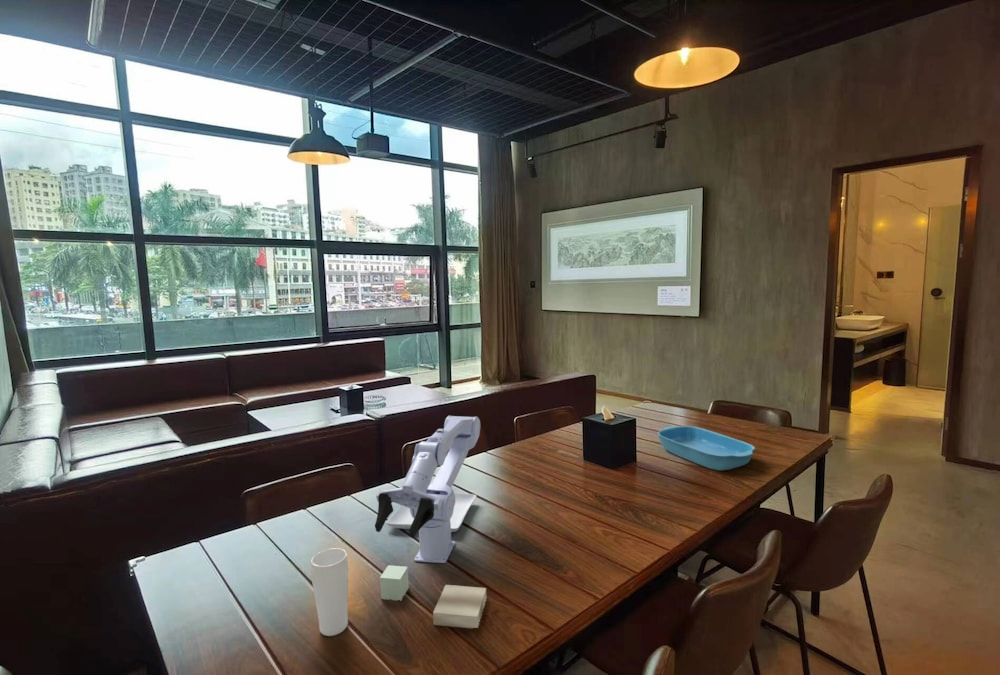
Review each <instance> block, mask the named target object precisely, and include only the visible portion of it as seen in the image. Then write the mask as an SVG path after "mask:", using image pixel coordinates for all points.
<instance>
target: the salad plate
mask: <svg viewBox="0 0 1000 675" xmlns="http://www.w3.org/2000/svg"><path fill="white" fill-rule="evenodd" d="M454 495H455V505H454V510H453V515H452V517H451V519H450V523H451V533H455V532H457V531H458V530H459V529H460V527H461V525H462V524H463V522H464V521H465V520H464V519H465V517H466V516H467V513H468V512H469V510H470V509H471V507H472V505H473V504H474V502H475V500H476V499H477V495H476V494H471V493H461V492H454ZM391 514H392V515H391ZM391 514H390V515H391V516H389V517H388V518H387V519H386V521H385V523H386V524H387V525H388V526H389V527H391V528H393V529H394V528H395V529H400V530H401V529H403V530H410V527H411V525H412V522H413V520H414V518H413V517H412V515H411V513H410V508H408V507H405V506H402V505H400V504H399V507H397V509H396V510H395V511H393V512H392V513H391Z"/></svg>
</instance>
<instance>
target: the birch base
mask: <svg viewBox="0 0 1000 675" xmlns="http://www.w3.org/2000/svg"><path fill="white" fill-rule="evenodd" d="M444 585H445V586H444V587H443V590H442V592H441V594H440V596H439V597H438V601H437V603H436V605H435V607H434V610H433V613H432V617H433V618H432V619H433V626H443V627H444V626H445V627H451V628H452V627H454V628H465V629H473V628H478V629H479V626H480V623H481V620H480V619H482V616H483V613H484V610H483V609H485V606H486V603H487V600H486V599H488V598H487V587H479V586H478V587H477V586H466V585H465V586H464V585H456V584H455V585H454V584H453V585H452V584H444ZM485 602H486V603H485ZM482 612H483V613H482ZM479 622H480V623H479Z"/></svg>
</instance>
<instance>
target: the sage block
mask: <svg viewBox="0 0 1000 675" xmlns="http://www.w3.org/2000/svg"><path fill="white" fill-rule="evenodd" d="M408 567H409V566H403V565H401V566H400V565H390V564H389V565H387V566H386V568H385V570H384V571H383V573H382V574H381V575H380V577H379V584H380V587H379V588H380V599H381V600H388V601H389V600H390V599H391V600H390V601H398V600H400V601H402V600H403V599H402V598H404V597H405V595H406V593H407V591H408V590H409V588H410V586H409V585H410V584H409V568H408ZM403 596H404V597H403ZM400 601H399V602H400Z"/></svg>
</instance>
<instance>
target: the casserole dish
mask: <svg viewBox="0 0 1000 675" xmlns="http://www.w3.org/2000/svg"><path fill="white" fill-rule="evenodd" d="M657 434H658V438H659V442H660V445H661V446H662V448H663V449H664V450H666V451H667V452H669V453H671V454H673V455H675V456H677V457H680V458H682V459H685V460H687V461H689V462H691V463H694V464H696V465H699V466H702V467H705V468H707V469H709V470H714V471H719V472H721V471H727V470H732V469H735V468H739V467H742V466H745V465H747V464H748V463H749V462H750V461H751V459H752V457H753V455H754V452H755V450H756V447H755V446H754V445H752V444H750V443H748V442H745V441H743V440H740V439H737V438H733V437H731V436H728V435H724V434H721V433H719V432H715V431H712V430H710V429H705V428H702V427H699V426H691V425H682V426H681V425H680V426H679V425H675V426H666V427H663V428H662V429H661V430H659V431H657Z"/></svg>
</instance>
